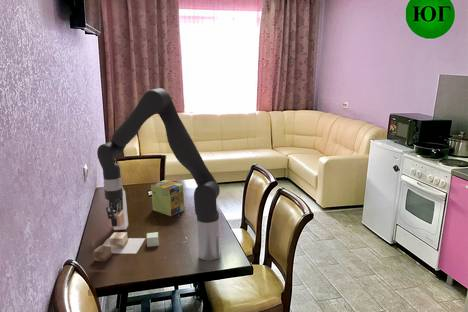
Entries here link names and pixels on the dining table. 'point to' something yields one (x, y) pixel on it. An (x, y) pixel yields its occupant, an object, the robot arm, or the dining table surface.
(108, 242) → the mat
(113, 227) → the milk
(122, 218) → the terracotta block
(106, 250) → the walnut block
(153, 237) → the sage block
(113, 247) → the birch block
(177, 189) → the protein box
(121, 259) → the dining table surface
